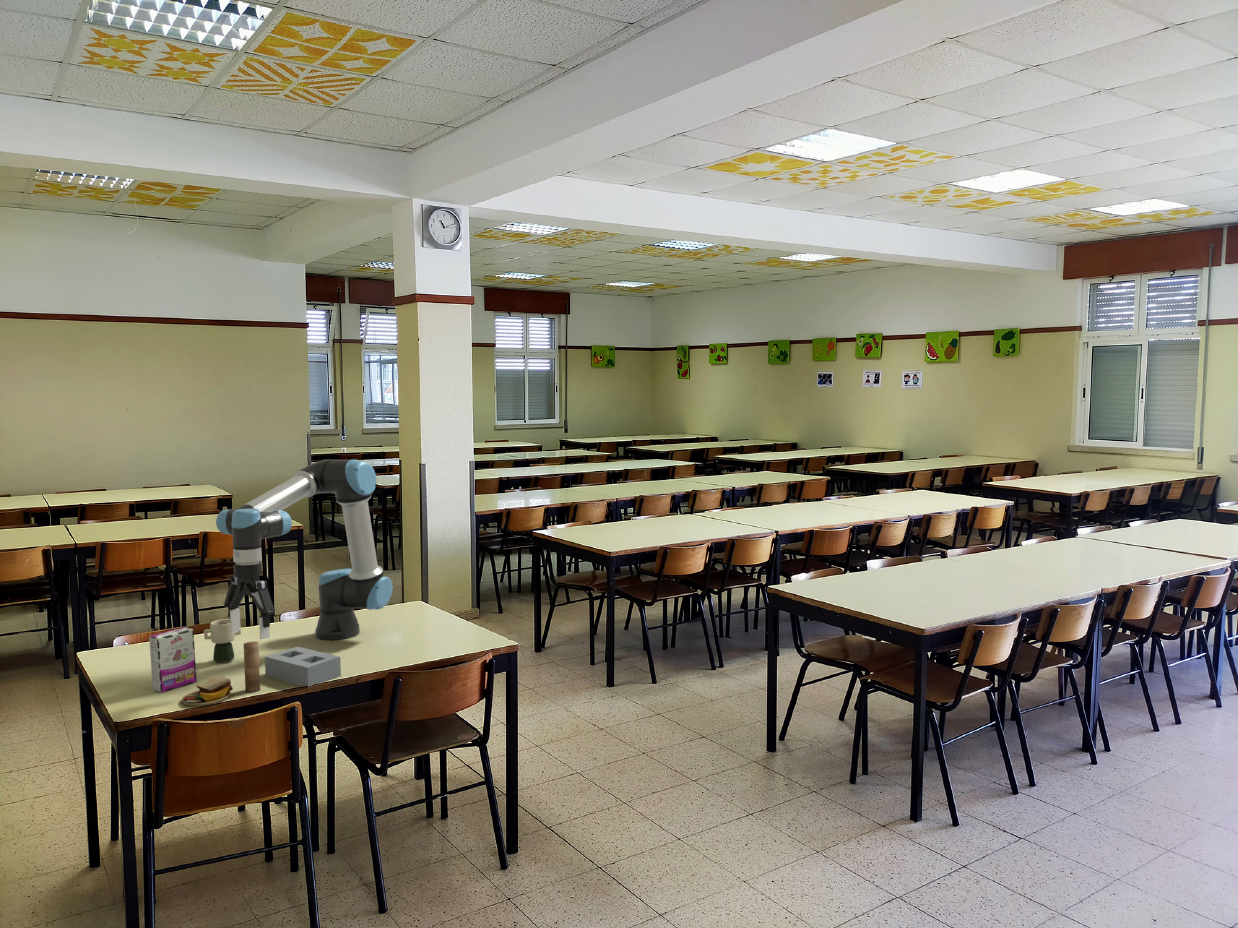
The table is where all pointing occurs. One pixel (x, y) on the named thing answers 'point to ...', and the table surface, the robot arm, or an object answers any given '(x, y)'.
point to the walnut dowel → (251, 666)
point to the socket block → (302, 666)
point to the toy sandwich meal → (209, 692)
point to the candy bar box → (172, 659)
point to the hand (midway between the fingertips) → (249, 634)
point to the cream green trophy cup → (222, 639)
